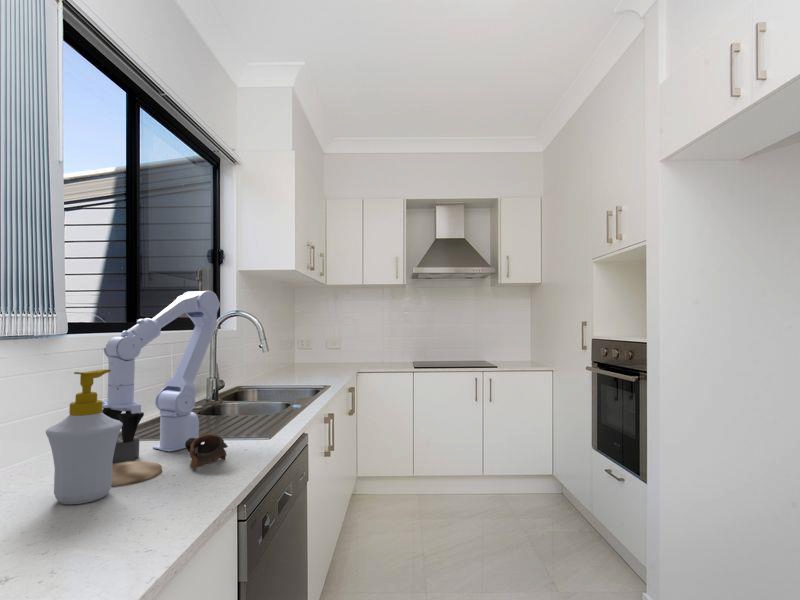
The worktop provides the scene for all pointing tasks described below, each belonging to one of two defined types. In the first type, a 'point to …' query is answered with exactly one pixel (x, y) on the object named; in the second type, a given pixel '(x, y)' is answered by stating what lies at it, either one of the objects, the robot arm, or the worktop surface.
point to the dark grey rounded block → (126, 450)
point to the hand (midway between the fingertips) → (119, 440)
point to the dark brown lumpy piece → (205, 450)
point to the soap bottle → (84, 447)
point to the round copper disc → (134, 472)
